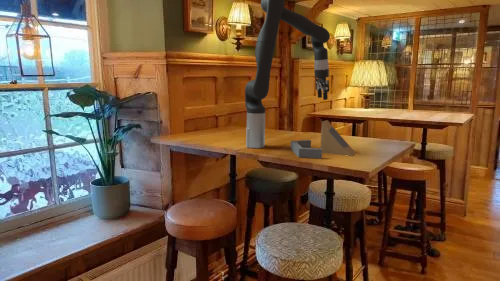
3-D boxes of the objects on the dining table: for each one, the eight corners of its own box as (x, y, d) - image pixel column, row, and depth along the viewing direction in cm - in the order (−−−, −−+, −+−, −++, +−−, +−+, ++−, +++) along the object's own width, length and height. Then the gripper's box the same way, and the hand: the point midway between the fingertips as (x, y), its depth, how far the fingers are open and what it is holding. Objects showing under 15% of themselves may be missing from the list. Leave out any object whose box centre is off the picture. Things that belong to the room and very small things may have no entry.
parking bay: (299, 158, 157) (300, 149, 157) (289, 147, 181) (289, 139, 180) (323, 158, 158) (323, 149, 158) (309, 147, 182) (310, 139, 181)
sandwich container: (352, 156, 163) (354, 124, 161) (319, 153, 170) (321, 121, 168) (356, 153, 171) (358, 122, 168) (325, 149, 178) (326, 119, 175)
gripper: (310, 68, 197) (311, 97, 201) (319, 69, 184) (320, 101, 188) (323, 67, 198) (324, 96, 202) (333, 68, 185) (334, 99, 189)
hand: (322, 98), depth 195 cm, fingers open, 8 cm apart
